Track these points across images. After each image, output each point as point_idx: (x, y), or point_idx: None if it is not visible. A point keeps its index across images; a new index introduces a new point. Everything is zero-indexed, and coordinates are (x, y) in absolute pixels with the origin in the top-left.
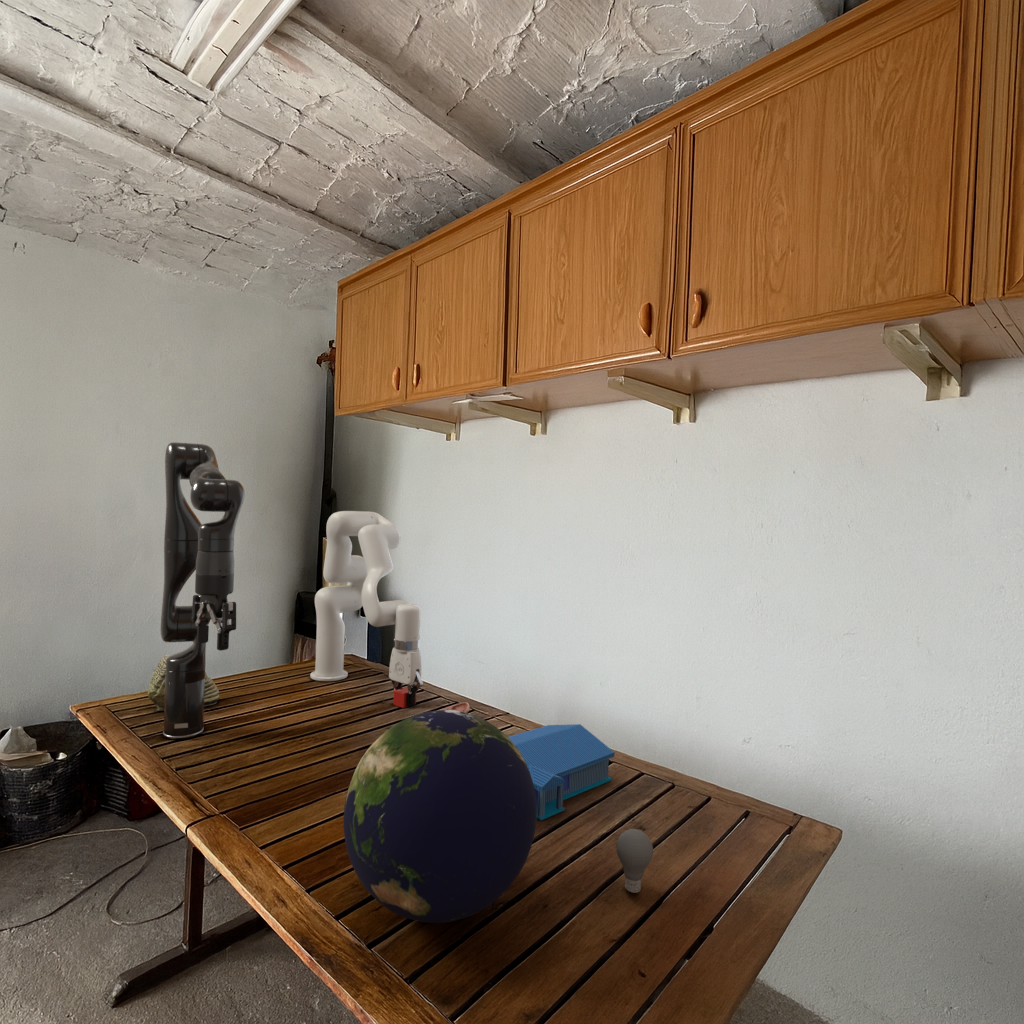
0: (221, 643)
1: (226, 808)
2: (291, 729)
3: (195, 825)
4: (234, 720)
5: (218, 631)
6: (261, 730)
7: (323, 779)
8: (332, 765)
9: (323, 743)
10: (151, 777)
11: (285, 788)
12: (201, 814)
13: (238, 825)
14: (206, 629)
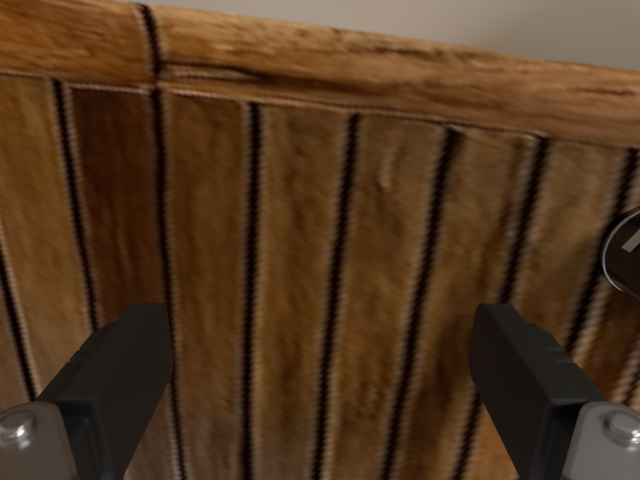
0: (94, 346)
1: (170, 109)
2: (449, 411)
3: (135, 17)
4: (609, 363)
5: (46, 414)
6: None
7: None
8: (213, 363)
9: (326, 410)
10: (459, 65)
11: (177, 245)
12: (178, 54)
13: (75, 86)
14: (514, 440)
